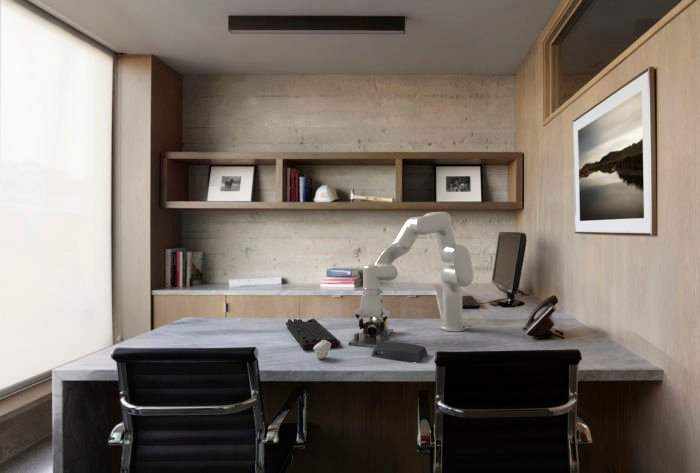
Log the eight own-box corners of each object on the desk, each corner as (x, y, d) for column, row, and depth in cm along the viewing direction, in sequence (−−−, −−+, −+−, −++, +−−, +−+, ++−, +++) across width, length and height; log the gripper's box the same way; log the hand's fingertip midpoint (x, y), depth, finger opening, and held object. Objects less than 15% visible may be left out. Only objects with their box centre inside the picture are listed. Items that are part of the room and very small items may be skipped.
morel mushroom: (378, 335, 170) (376, 322, 171) (363, 338, 170) (360, 325, 171) (378, 331, 187) (376, 319, 188) (364, 333, 188) (362, 321, 188)
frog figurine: (333, 359, 151) (333, 341, 151) (315, 362, 149) (315, 343, 149) (328, 355, 157) (328, 337, 157) (311, 357, 155) (311, 339, 155)
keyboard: (341, 348, 168) (340, 336, 168) (302, 352, 162) (302, 340, 162) (316, 326, 208) (316, 316, 208) (285, 328, 202) (285, 319, 202)
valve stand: (393, 331, 193) (393, 308, 193) (377, 347, 166) (377, 321, 166) (368, 329, 198) (368, 307, 198) (348, 345, 171) (348, 319, 171)
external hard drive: (383, 348, 167) (383, 339, 167) (428, 355, 158) (428, 344, 158) (370, 357, 155) (370, 347, 155) (418, 365, 146) (418, 354, 146)
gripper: (391, 291, 181) (392, 329, 181) (356, 290, 187) (356, 326, 187) (387, 294, 174) (387, 333, 174) (350, 292, 180) (350, 330, 180)
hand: (371, 329), depth 181 cm, fingers open, 9 cm apart
